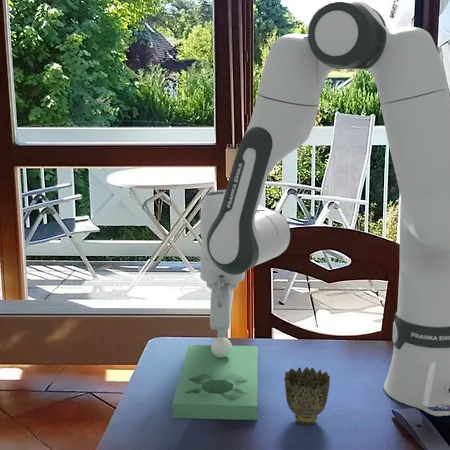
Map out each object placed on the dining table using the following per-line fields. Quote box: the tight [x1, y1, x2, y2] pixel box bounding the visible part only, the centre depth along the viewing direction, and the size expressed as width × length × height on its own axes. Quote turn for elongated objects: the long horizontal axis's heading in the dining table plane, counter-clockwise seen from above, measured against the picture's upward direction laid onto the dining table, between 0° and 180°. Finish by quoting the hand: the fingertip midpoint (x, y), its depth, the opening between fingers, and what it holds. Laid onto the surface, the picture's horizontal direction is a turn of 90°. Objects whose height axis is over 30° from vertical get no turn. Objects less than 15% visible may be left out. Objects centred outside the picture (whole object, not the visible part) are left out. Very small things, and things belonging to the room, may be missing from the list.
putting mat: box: [171, 344, 259, 421], centre depth 125 cm, size 14×26×2 cm, turn 177°
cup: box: [283, 366, 331, 426], centre depth 111 cm, size 8×7×8 cm
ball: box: [210, 336, 233, 358], centre depth 131 cm, size 4×4×4 cm
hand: (222, 335), depth 138 cm, fingers closed
